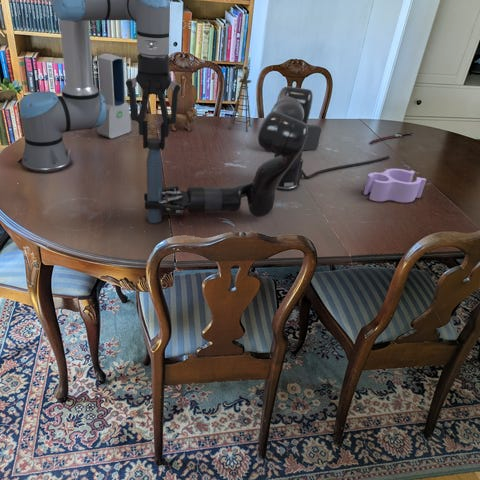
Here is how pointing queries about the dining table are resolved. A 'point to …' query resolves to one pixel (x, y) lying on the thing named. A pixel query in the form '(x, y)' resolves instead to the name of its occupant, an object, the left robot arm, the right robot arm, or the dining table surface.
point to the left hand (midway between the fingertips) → (154, 147)
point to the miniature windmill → (244, 81)
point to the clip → (394, 186)
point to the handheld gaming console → (312, 137)
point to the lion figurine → (186, 118)
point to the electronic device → (113, 96)
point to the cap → (154, 143)
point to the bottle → (154, 183)
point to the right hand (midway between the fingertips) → (144, 201)
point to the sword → (388, 137)
